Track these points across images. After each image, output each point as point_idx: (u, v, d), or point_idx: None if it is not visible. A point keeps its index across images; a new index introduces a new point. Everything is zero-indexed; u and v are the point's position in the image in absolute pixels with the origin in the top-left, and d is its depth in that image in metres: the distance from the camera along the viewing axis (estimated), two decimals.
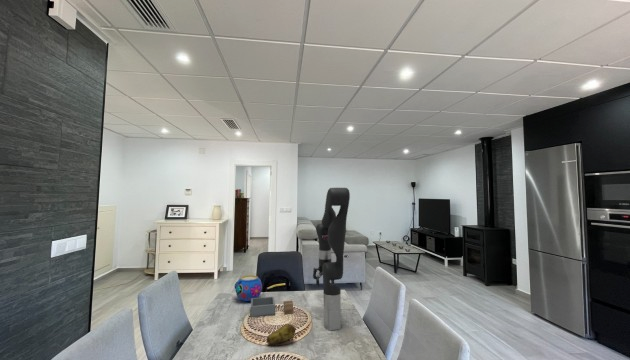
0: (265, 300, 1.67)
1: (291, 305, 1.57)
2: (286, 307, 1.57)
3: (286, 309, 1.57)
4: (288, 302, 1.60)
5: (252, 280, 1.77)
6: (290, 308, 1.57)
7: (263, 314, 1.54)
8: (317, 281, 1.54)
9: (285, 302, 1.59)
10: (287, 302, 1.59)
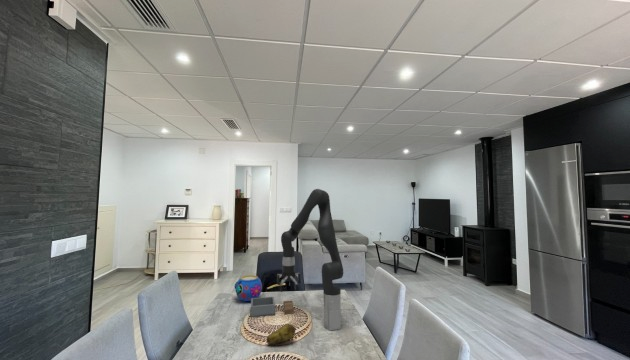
0: (265, 300, 1.67)
1: (291, 305, 1.57)
2: (286, 307, 1.57)
3: (286, 309, 1.57)
4: (288, 302, 1.60)
5: (252, 280, 1.77)
6: (290, 308, 1.57)
7: (263, 314, 1.54)
8: (280, 287, 1.59)
9: (285, 302, 1.59)
10: (287, 302, 1.59)
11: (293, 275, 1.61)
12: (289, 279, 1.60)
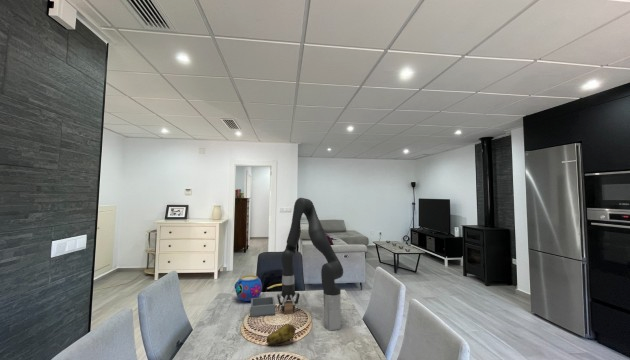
0: (265, 300, 1.67)
1: (291, 305, 1.57)
2: (286, 307, 1.57)
3: (286, 309, 1.57)
4: (288, 301, 1.60)
5: (252, 280, 1.77)
6: (290, 308, 1.57)
7: (263, 314, 1.54)
8: (282, 307, 1.58)
9: (285, 302, 1.60)
10: (287, 302, 1.60)
11: (293, 295, 1.60)
12: (289, 298, 1.59)
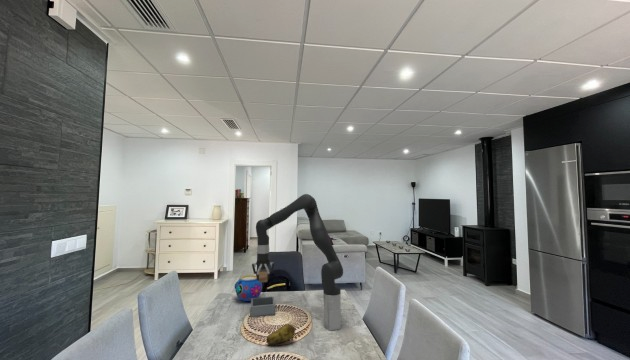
0: (265, 300, 1.67)
1: (265, 273, 1.61)
2: (260, 275, 1.60)
3: (260, 277, 1.60)
4: (263, 270, 1.63)
5: (252, 280, 1.77)
6: (264, 276, 1.60)
7: (263, 314, 1.54)
8: (257, 276, 1.61)
9: (260, 271, 1.63)
10: (262, 271, 1.63)
11: (267, 264, 1.63)
12: (263, 267, 1.62)
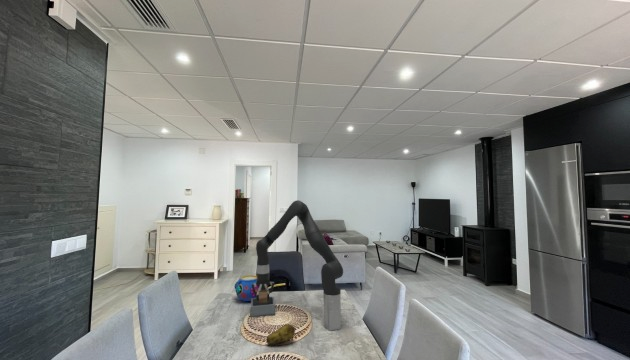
0: None
1: (265, 294, 1.60)
2: (260, 295, 1.59)
3: (260, 297, 1.59)
4: (263, 290, 1.63)
5: (252, 280, 1.77)
6: (264, 297, 1.60)
7: (263, 314, 1.54)
8: (257, 296, 1.60)
9: (260, 291, 1.62)
10: (262, 291, 1.62)
11: (267, 284, 1.62)
12: (263, 287, 1.61)
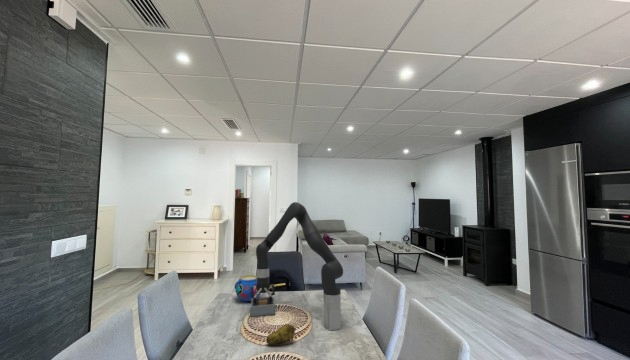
0: None
1: (265, 302, 1.59)
2: (260, 304, 1.59)
3: None
4: (263, 299, 1.62)
5: (252, 280, 1.77)
6: None
7: (263, 314, 1.54)
8: (254, 299, 1.60)
9: (259, 299, 1.61)
10: (261, 299, 1.61)
11: (267, 287, 1.62)
12: (263, 291, 1.61)
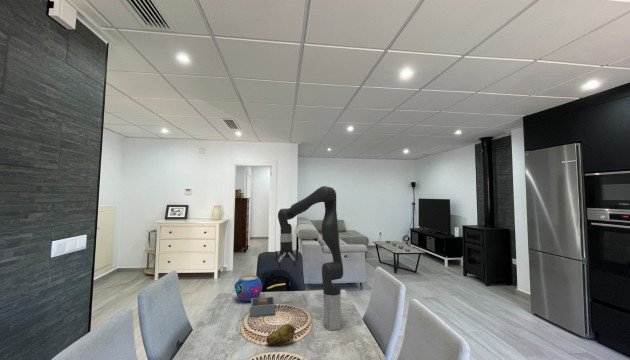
0: None
1: (265, 302, 1.59)
2: (260, 304, 1.59)
3: None
4: (263, 299, 1.62)
5: (252, 280, 1.77)
6: None
7: (263, 314, 1.54)
8: (278, 263, 1.61)
9: (259, 299, 1.61)
10: (261, 299, 1.61)
11: (291, 252, 1.64)
12: (287, 256, 1.63)
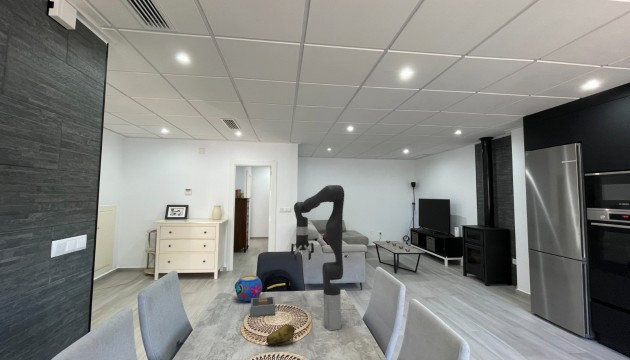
0: None
1: (265, 302, 1.59)
2: (260, 304, 1.59)
3: None
4: (263, 299, 1.62)
5: (252, 280, 1.77)
6: None
7: (263, 314, 1.54)
8: (294, 256, 1.63)
9: (259, 299, 1.61)
10: (261, 299, 1.61)
11: (307, 245, 1.65)
12: (303, 248, 1.64)
